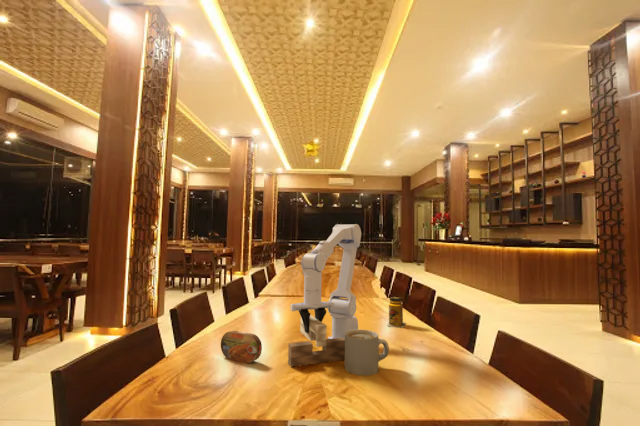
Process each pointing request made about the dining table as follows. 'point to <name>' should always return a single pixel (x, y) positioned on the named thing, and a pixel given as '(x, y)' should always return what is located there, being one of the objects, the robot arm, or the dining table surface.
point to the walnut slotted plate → (316, 352)
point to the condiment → (396, 312)
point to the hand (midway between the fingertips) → (312, 331)
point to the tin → (241, 346)
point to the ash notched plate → (315, 331)
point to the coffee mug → (363, 352)
